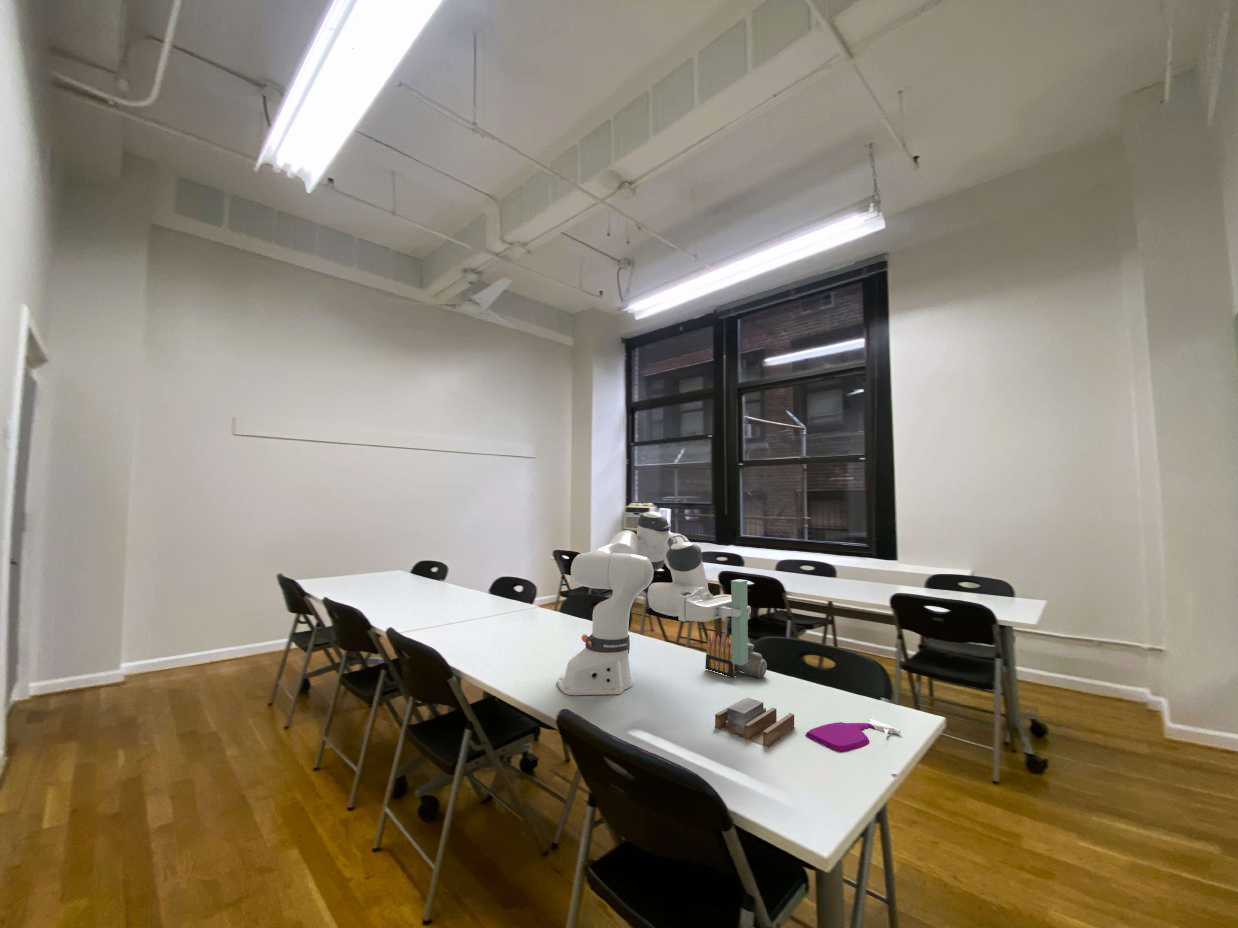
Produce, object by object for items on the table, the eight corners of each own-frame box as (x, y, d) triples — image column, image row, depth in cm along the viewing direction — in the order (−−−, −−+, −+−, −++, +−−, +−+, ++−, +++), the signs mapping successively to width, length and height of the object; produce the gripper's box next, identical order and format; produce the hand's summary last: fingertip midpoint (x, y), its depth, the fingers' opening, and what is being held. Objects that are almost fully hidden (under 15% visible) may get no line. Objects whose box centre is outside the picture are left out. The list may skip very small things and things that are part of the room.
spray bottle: (800, 742, 113) (864, 722, 126) (842, 764, 104) (907, 740, 116) (800, 729, 114) (864, 710, 126) (842, 749, 104) (906, 727, 117)
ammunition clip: (705, 669, 162) (705, 632, 163) (708, 668, 163) (708, 631, 164) (733, 678, 154) (733, 639, 155) (736, 677, 156) (736, 638, 157)
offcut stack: (725, 727, 116) (725, 708, 116) (748, 714, 124) (748, 695, 124) (744, 734, 112) (744, 714, 113) (766, 720, 120) (766, 701, 121)
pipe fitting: (722, 671, 159) (727, 640, 160) (732, 667, 165) (737, 637, 166) (758, 685, 151) (762, 651, 152) (767, 680, 158) (771, 648, 159)
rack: (715, 733, 116) (715, 714, 116) (744, 716, 126) (744, 698, 126) (768, 754, 106) (768, 732, 107) (795, 733, 117) (795, 714, 117)
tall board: (731, 663, 120) (731, 580, 122) (739, 659, 122) (738, 579, 124) (740, 665, 118) (740, 581, 120) (748, 662, 121) (747, 580, 123)
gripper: (718, 610, 137) (764, 618, 128) (675, 621, 122) (722, 631, 113) (718, 587, 138) (764, 593, 128) (675, 596, 123) (722, 604, 114)
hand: (744, 611), depth 121 cm, fingers closed on tall board, 3 cm apart
